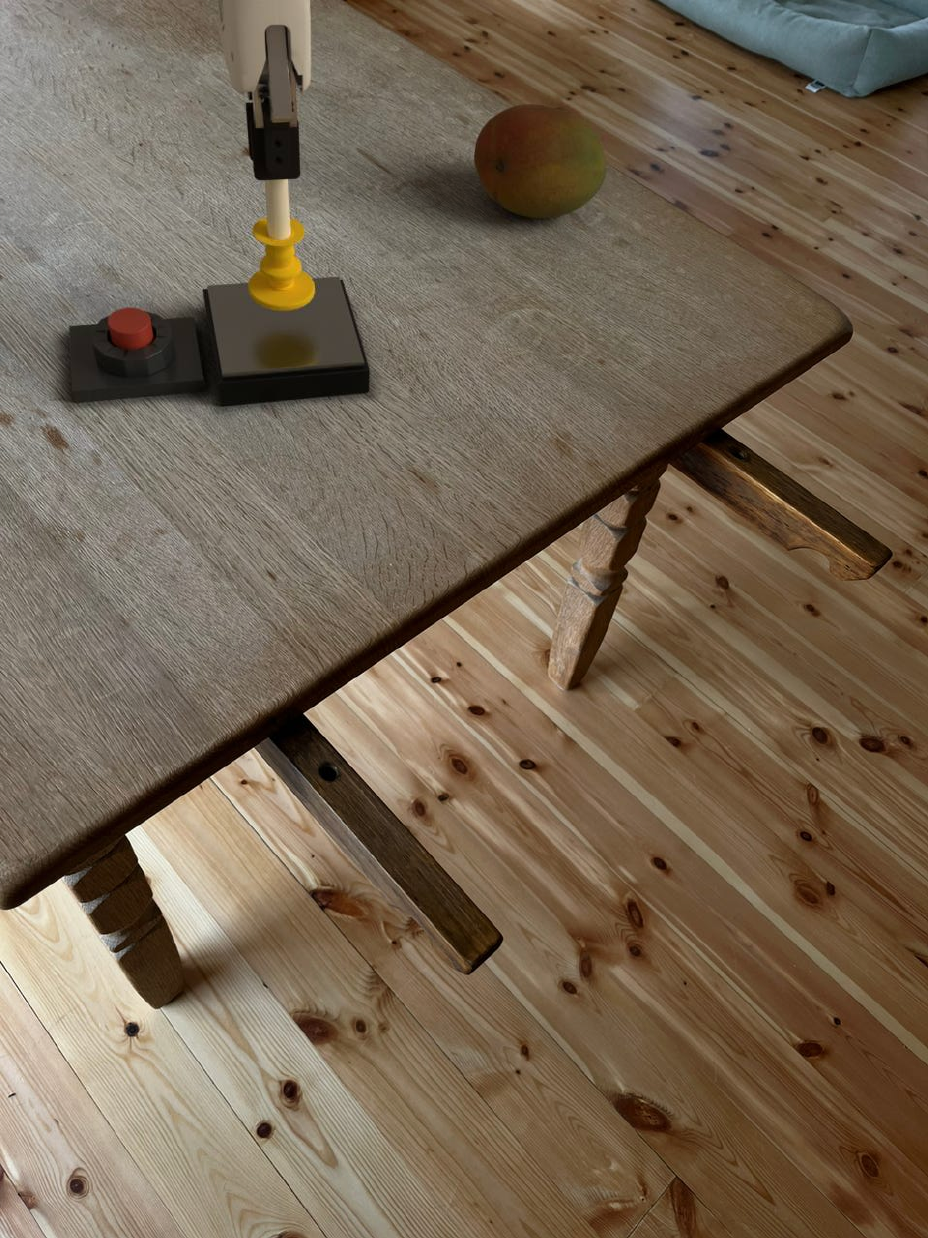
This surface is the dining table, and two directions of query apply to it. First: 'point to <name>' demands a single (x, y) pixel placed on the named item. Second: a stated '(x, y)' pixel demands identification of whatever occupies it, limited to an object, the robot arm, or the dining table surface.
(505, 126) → the fruit
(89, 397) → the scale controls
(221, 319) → the scale
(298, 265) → the candle
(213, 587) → the dining table surface
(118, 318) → the button
